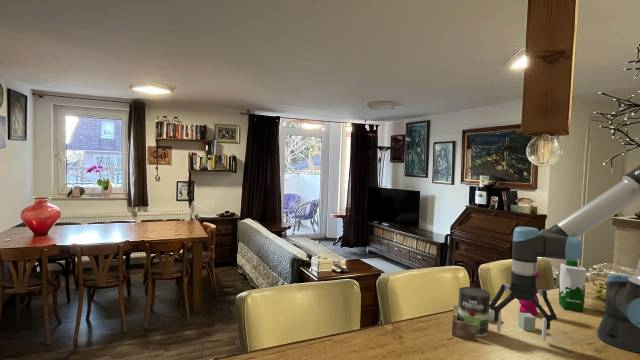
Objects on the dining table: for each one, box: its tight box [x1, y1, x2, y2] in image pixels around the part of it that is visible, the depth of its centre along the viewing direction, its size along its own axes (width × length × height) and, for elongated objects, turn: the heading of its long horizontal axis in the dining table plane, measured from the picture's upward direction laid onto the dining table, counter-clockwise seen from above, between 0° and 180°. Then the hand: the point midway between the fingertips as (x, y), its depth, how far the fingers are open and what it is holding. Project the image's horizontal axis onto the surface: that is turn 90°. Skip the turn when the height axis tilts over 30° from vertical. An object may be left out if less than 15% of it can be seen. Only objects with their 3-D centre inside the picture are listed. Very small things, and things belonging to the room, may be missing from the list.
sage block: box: [517, 312, 537, 332], centre depth 134 cm, size 4×4×5 cm
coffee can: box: [458, 286, 491, 338], centre depth 130 cm, size 10×10×14 cm
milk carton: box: [558, 260, 587, 313], centre depth 156 cm, size 9×9×20 cm
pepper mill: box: [518, 270, 540, 317], centre depth 149 cm, size 7×7×20 cm
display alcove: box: [451, 305, 477, 341], centre depth 132 cm, size 8×16×5 cm, turn 158°
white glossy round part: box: [488, 307, 495, 323], centre depth 142 cm, size 7×7×4 cm
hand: (520, 334), depth 125 cm, fingers open, 13 cm apart
